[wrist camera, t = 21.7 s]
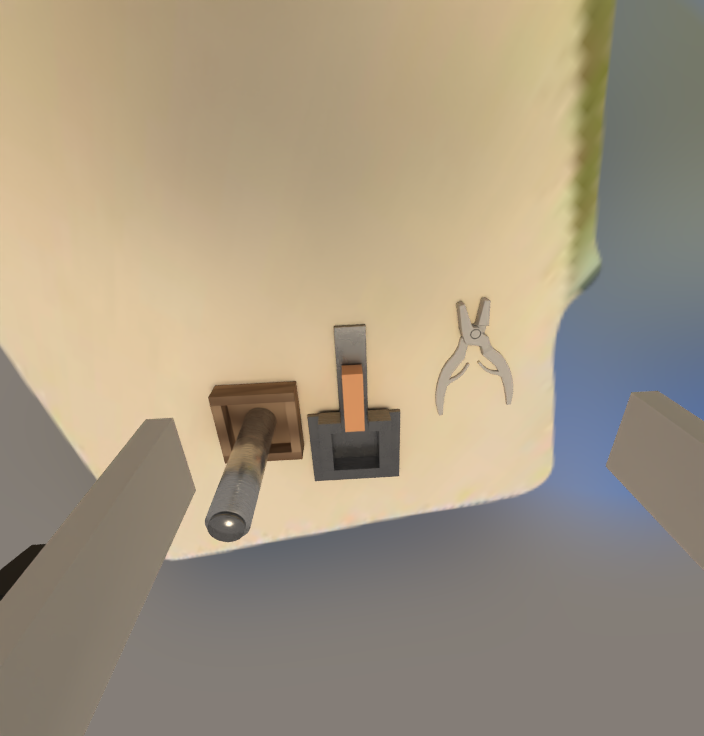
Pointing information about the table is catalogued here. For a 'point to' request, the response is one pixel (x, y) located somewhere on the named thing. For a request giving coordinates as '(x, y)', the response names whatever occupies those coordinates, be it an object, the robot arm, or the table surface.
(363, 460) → the socket
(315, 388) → the table surface
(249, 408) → the tray
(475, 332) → the pliers
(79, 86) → the table surface
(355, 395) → the orange rectangular bar
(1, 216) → the table surface
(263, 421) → the grey cylindrical peg
